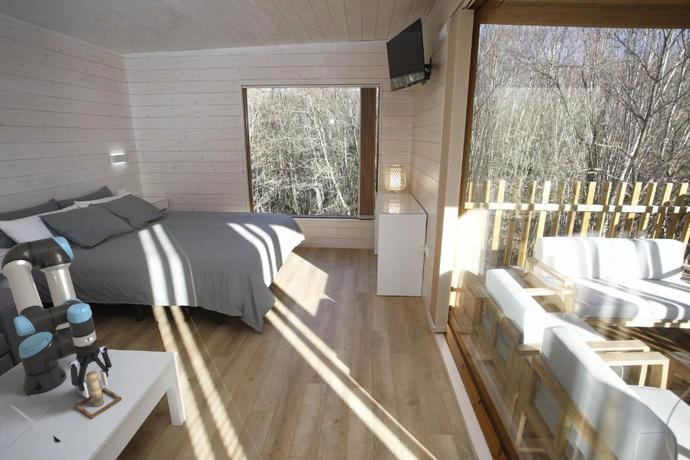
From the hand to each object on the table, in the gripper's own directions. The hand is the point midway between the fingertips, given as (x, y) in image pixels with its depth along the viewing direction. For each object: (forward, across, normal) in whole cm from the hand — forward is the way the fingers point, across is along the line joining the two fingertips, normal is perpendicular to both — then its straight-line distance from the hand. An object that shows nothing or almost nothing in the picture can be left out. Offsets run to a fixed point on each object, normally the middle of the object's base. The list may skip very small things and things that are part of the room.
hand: (95, 390), depth 154 cm
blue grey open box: (+8, +2, +10) cm, 13 cm away
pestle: (+7, 0, 0) cm, 7 cm away
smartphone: (+8, -13, 0) cm, 15 cm away
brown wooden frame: (+8, 0, 0) cm, 8 cm away
